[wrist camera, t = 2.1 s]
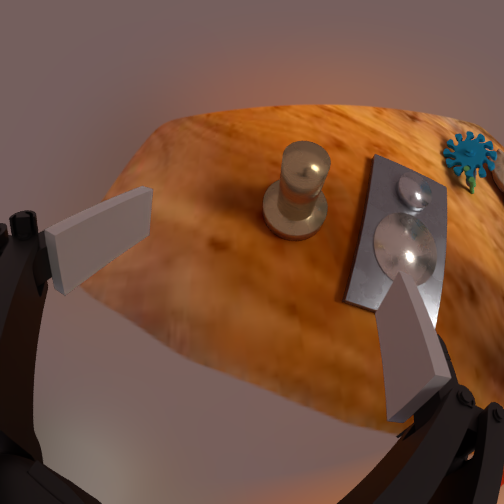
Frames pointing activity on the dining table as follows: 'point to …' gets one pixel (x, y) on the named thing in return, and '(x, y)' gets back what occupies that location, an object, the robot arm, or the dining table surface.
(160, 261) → the dining table surface
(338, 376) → the dining table surface
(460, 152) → the gear
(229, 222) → the dining table surface
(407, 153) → the dining table surface
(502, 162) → the pottery oil lamp
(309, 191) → the metal knob
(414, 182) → the carrier plate
